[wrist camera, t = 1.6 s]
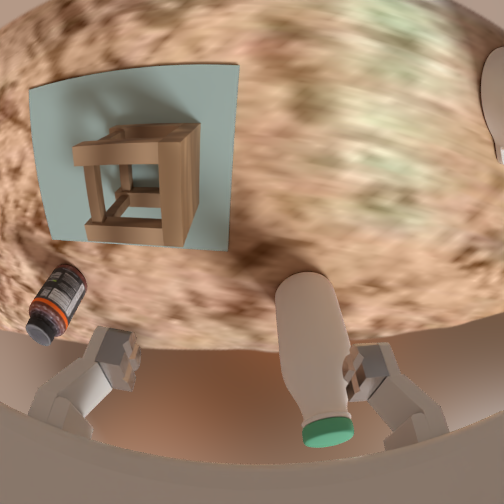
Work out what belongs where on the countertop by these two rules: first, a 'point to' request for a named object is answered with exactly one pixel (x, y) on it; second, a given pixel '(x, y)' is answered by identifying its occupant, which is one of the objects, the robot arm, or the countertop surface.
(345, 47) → the countertop surface
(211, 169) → the mat
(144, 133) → the open wooden box
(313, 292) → the milk bottle
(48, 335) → the supplement bottle
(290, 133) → the countertop surface
